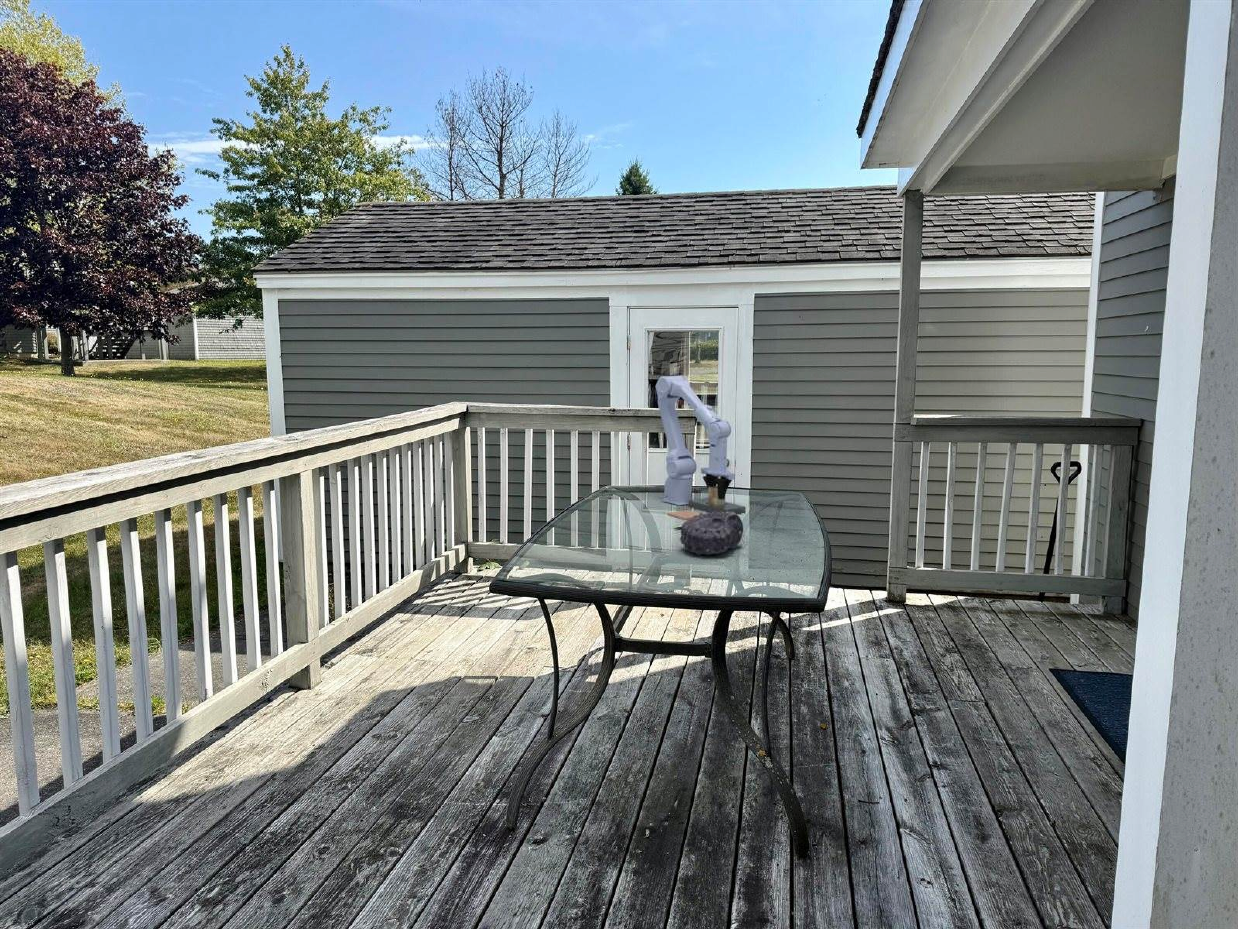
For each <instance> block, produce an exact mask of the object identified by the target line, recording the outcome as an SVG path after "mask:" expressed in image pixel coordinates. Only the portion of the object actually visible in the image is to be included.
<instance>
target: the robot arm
mask: <svg viewBox="0 0 1238 929" xmlns="http://www.w3.org/2000/svg"><path fill="white" fill-rule="evenodd" d="M690 383H691V382H690V381H689V380H688V378H686V377H685V375H681V374H680V375H670V376H669V375H668V376H665V375H662V376H660V377H659V378H658V380H657V382H656V385H655V390H656V393H657V394H656V395H657V405H658V409H659V410H658V411H659V414H660V417H661V423H662V426H663V429H664V434H665V437H666V442H667V446H668V449H669V453H668V454H667V456H666V457H665V461H666V465H665V466H666V467H665V468H666V473H667V475H668V477H667V478H666V479H665V481H664V491H663V492H664V495H663V496H664V498H663V499H662V502H665V503H669V504H673V505H677V506H685V505H689V501H690V500H692V481H693V480H692V478H694V474H695V473H696V472H697V468H698V467H697V462H696V460H695V458H694V457H693V454H692V452H691V451H690V450H688V448H686V446H685V442H684V438H683V437H684V436H683V433H682V430H681V426H680V425H681V424H680V421H679V418H678V414H677V409H676V406H675V404H676V403H677V401H678V400H679V399H680V398H682V399H683V400H684V401H685V403H686V404H688V406H690V407H691V408H692V409H693V411H695V412H694V414H695V415H694V416H695V419H697V420H698V421H699V422H700V424H701V425H702V426H703V427H704V429H705V434H706V437H707V438H708V444H709V450H708V451H709V452H708V453H709V455H708V456H709V457H708V467H701V468H700V474H701V475H703V476H702V480H703V481H704V483H705V486H706V488H707V490H708V488H709V487H713V486H717V487H718V498H719V499H724V498H725V499H726V494H727V491H728V489H729V486H730V484H731V483H732V481H733V480H735V479H736V476H735V475H736V473H734V472H731V471H729V470H727V456H728V438H729V437H730V435H731V433H732V426H731V425H730V423H729V421H727V420H723V419H722V418H721V416H719V415H717V413H716V412H715V411H714V410H713V406H711V405H709V404H703V402H702V401H701V400H700V398H699V397H698V396H697V394H696V393H695V392H694V390H693V389H692V387H691V384H690Z"/></svg>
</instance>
